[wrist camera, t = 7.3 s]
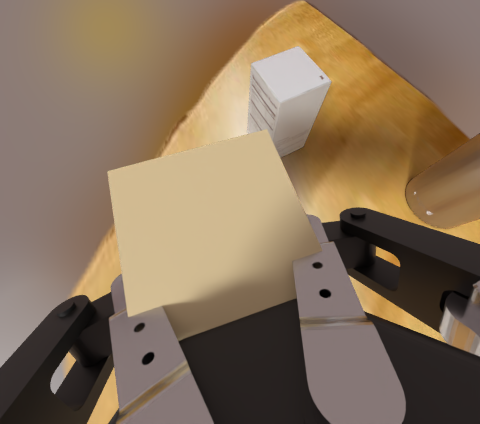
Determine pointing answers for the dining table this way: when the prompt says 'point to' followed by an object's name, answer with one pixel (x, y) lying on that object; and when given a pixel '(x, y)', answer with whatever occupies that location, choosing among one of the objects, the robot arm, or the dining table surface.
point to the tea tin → (209, 232)
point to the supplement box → (286, 98)
